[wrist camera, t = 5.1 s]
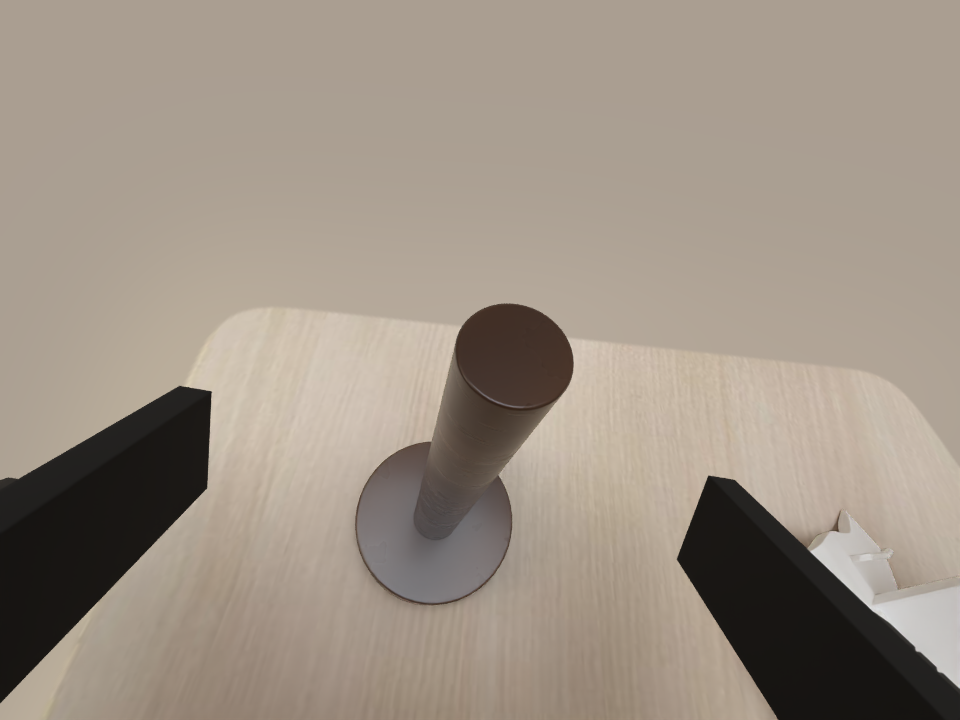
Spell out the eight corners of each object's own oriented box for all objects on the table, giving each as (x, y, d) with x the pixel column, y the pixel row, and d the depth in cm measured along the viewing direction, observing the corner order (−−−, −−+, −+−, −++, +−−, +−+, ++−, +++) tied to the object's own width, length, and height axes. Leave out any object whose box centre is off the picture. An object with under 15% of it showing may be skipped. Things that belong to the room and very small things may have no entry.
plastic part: (700, 583, 22) (966, 556, 11) (844, 504, 25) (1154, 428, 15) (807, 775, 19) (1289, 967, 9) (955, 659, 22) (1439, 698, 12)
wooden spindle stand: (327, 555, 20) (170, 423, 6) (408, 430, 23) (436, 144, 9) (460, 636, 19) (653, 712, 5) (525, 496, 22) (754, 304, 8)
